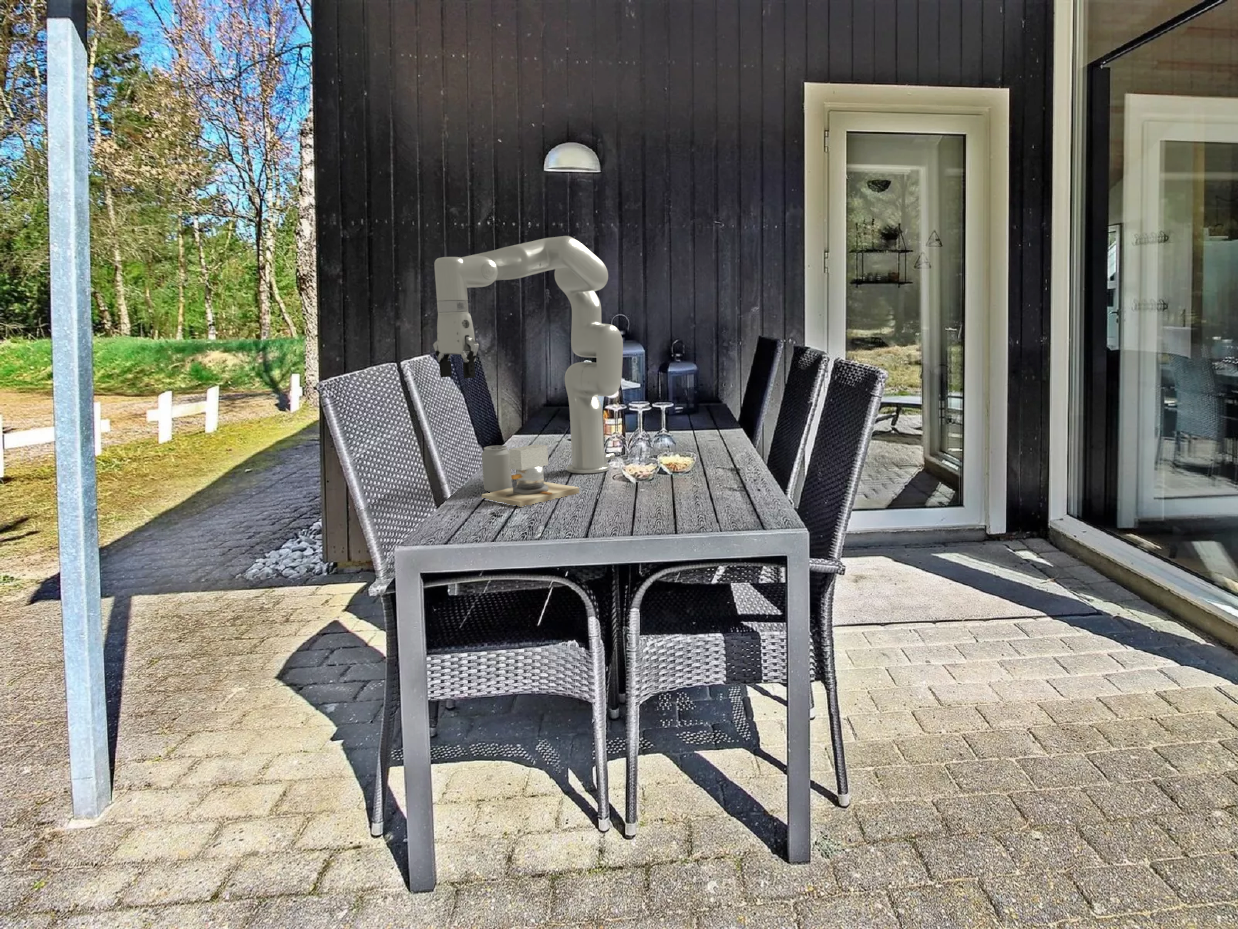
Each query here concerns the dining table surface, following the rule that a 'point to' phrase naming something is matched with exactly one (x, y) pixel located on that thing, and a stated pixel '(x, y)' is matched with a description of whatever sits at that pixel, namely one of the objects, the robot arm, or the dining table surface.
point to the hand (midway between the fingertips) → (457, 377)
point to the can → (496, 468)
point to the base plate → (531, 494)
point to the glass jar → (529, 465)
